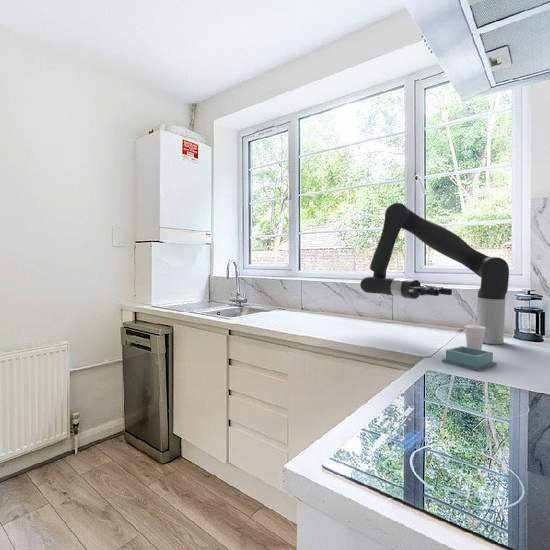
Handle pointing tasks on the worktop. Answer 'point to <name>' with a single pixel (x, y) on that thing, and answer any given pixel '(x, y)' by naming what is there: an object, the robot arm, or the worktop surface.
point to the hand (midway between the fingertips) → (445, 292)
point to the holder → (469, 358)
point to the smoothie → (474, 335)
